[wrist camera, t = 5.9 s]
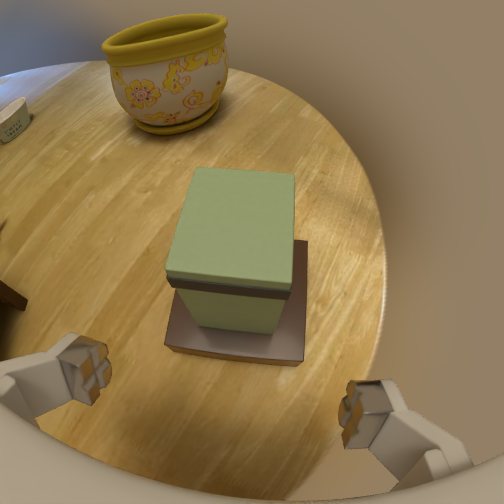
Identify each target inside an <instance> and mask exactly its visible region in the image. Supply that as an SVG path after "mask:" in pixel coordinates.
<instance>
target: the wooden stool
mask: <svg viewBox="0 0 504 504" xmlns="http://www.w3.org/2000/svg"><path fill="white" fill-rule="evenodd" d="M27 301H28V300H27V299H26V298H24V297H23V296H21V295H20V294H18V293H17V292H16V291H14V290H13V289H11V288H10V287H9V286H7V285H6V284H5V283H3V282H2V281H1V280H0V302H3V303H5V304H7V305H10V306H12V307H15V308H17V309H20V310H22V311H24V310H25V307H26V304H27Z"/></svg>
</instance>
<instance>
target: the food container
mask: <svg viewBox="0 0 504 504" xmlns="http://www.w3.org/2000/svg"><path fill="white" fill-rule="evenodd" d="M29 123H30V117H29V113H28V109H27V105H26V97H22V98H20V99H18V100H16V101H14V102H12V103H11V104H10V105H8V106H7V107H6V108H4V109H3V110H2V111H1V112H0V139H1V140H2V141H3V142H4V143H6V142H9V141H11V140H12V139H14V138H15V137H16V136H18V135H19V134H20V133H21V132H22V131H23V130H24V129H25V128H26V127H27V126H28V124H29Z"/></svg>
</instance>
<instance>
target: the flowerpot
mask: <svg viewBox="0 0 504 504" xmlns="http://www.w3.org/2000/svg"><path fill="white" fill-rule="evenodd" d="M227 24H228V20H227V19H226V18H225V17H224V16H221V15H216V14H185V15H176V16H170V17H165V18H160V19H156V20H152V21H148V22H144V23H141V24H138V25H135V26H133V27H130V28H128V29H125V30H123V31H121V32H119V33H117V34H115V35H113V36H111V37H110V38H108V39H107V40H106V41H105V42H104V43H103V44H102V51H103V53H105V54H107V55H108V59H107V63H108V64H109V65H110V74H111V81H112V86H113V90H114V93H115V96H116V98H117V100H118V102H119V104H120V105H121V106H122V108H123V109H124V110H125V111H126V112H127V113H128V114H129V115H131V116H132V117H134V122H135V124H136V125H137V126H138V127H139V128H141V129H143V130H145V131H147V132H149V133H153V134H158V135H169V134H177V133H181V132H185V131H188V130H191V129H194V128H196V127H198V126H200V125H201V124H203V123H205V122H206V121H207V120H208V119H209V118H210V117H211V116H212V115H213V114H214V113H215V112H216V110H217V109H218V106H219V100H218V98H219V97H220V95H221V93H222V91H223V89H224V87H225V84H226V81H227V76H228V56H227V50H226V45H225V38H226V35H225V33H224V29H225V28H226V27H227Z"/></svg>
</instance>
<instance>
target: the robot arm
mask: <svg viewBox="0 0 504 504" xmlns="http://www.w3.org/2000/svg"><path fill="white" fill-rule="evenodd" d="M108 354H109V351H108V347H107V345H106V344H105V343H103V342H100V341H97V340H94V339H91V338H88V337H86V336H82V335H79V334H77V333H74V332H69V333H68V334H67V335H65V336H64V337H63V338H62V339H61V340H60V341H58V342H57V343H56V344H55V345H54V346H53V347H51V348H50V349H49V350H48V351H47V352H46V353H45V352H43V351H42V352H38V353H34V354H30V355H26V356H22V357H18V358H14V359H10V360H5V361H1V362H0V504H504V453H502V454H500V455H498V456H496V457H494V458H492V459H489V460H487V461H485V462H483V463H481V464H478V465H476V466H474V464H473V462H472V461H471V458H470V456H469V454H468V452H467V450H466V448H465V446H464V444H463V443H462V441H461V440H459V439H458V438H456V437H455V436H453V435H451V434H450V433H448V432H447V431H445V430H443V429H442V428H440V427H439V426H437V425H436V424H434V423H432V422H431V421H429V420H427V419H426V418H425V417H423V416H422V415H420V414H418V413H417V412H415V411H414V410H409V409H408V407H407V405H406V403H405V401H404V399H403V397H402V395H401V393H400V391H399V389H398V387H397V385H396V383H395V381H394V380H392V379H382V380H350V382H349V383H348V385H347V388H346V392H347V395H346V396H345V397H344V398H342V400H341V403H340V405H339V411H338V420H339V425H340V426H342V427H343V428H344V430H343V432H342V434H341V435H342V440H343V445H344V449H362V448H369V449H368V450H369V451H370V452H371V453H372V454H373V455H374V456H375V457H376V458H377V459H378V460H379V461H380V462H381V463H382V464H383V465H384V466H385V467H386V468H387V469H388V470H389V471H390V472H391V473H392V474H393V475H394V476H395V477H396V478H397V479H398V480H399V482H398V483H397V484H396V485H395V486H394V487H393V489H392V490H390V492H387V493H382V494H376V495H370V496H363V497H355V498H347V499H336V500H319V501H275V500H258V499H247V498H238V497H230V496H223V495H217V494H211V493H206V492H200V491H195V490H191V489H186V488H182V487H178V486H174V485H170V484H166V483H163V482H159V481H156V480H152V479H149V478H146V477H143V476H140V475H137V474H134V473H131V472H128V471H125V470H123V469H120V468H117V467H115V466H112V465H110V464H107V463H105V462H103V461H100V460H98V459H96V458H93V457H91V456H89V455H87V454H85V453H83V452H81V451H79V450H77V449H75V448H73V447H71V446H69V445H67V444H65V443H63V442H61V441H59V440H58V439H56V438H54V437H52V436H51V435H49V434H47V433H45V432H44V431H42V430H41V429H40V427H39V425H38V423H37V422H36V420H35V418H36V417H38V416H40V415H42V414H44V413H47V412H49V411H51V410H53V409H55V408H57V407H59V406H61V405H63V404H65V403H67V402H69V401H71V400H73V399H75V400H77V401H80V402H82V403H85V404H87V405H90V406H92V405H93V404H94V403H95V401H96V400H97V399H98V397H99V396H100V389H102V388H105V387H106V386H107V385H108V384H109V382H110V379H111V376H112V366H111V363H110V361H109V360H108V359H107V355H108Z"/></svg>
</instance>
